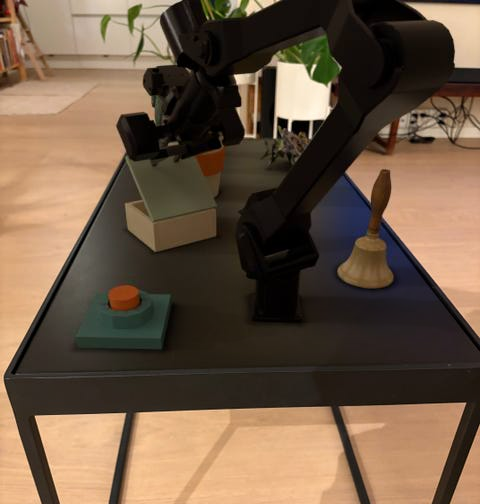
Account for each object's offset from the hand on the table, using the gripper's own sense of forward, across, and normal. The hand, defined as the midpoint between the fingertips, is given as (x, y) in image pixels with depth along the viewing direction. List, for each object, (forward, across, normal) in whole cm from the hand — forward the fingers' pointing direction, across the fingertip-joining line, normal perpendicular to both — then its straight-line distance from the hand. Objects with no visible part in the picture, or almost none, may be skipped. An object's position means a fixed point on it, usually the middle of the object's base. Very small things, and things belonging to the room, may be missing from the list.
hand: (166, 159), depth 82 cm
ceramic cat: (+36, -20, -17) cm, 44 cm away
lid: (+2, 0, +3) cm, 4 cm away
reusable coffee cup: (+19, -14, -1) cm, 24 cm away
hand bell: (-12, -17, +30) cm, 36 cm away
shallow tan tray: (+9, 0, +9) cm, 13 cm away
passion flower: (+21, -38, -2) cm, 44 cm away
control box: (-7, +18, +24) cm, 31 cm away
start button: (-9, +18, +22) cm, 30 cm away
